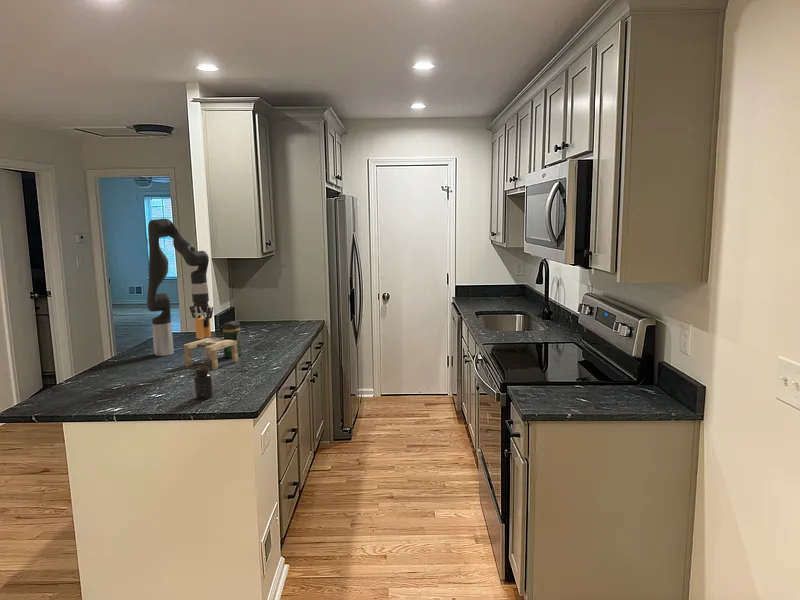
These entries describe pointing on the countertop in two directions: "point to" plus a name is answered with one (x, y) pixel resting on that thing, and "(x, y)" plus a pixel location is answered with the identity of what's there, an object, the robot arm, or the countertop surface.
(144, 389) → the countertop surface
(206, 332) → the tan wooden post
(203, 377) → the supplement bottle
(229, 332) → the coffee jar
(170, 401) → the countertop surface
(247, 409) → the countertop surface
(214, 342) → the cream u-shaped stand
